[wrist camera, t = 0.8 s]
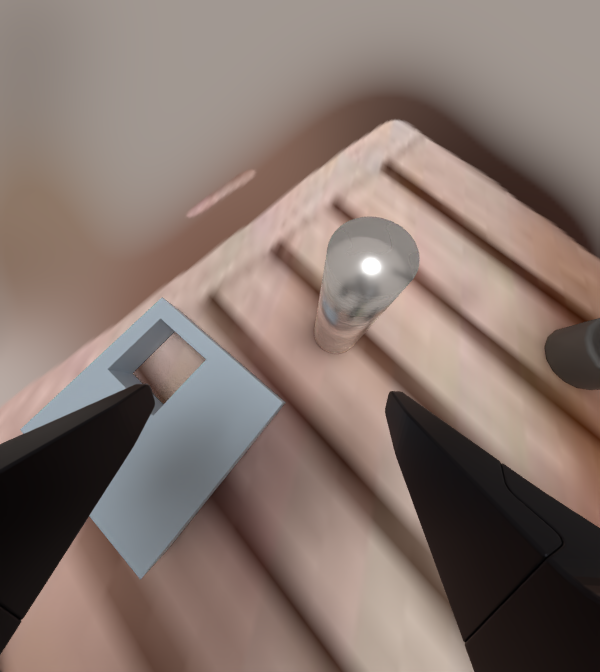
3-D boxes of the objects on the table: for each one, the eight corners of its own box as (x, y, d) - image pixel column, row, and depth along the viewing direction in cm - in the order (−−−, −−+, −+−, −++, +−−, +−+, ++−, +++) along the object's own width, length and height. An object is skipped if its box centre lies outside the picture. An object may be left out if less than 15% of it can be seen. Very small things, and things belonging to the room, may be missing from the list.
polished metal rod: (365, 329, 24) (436, 248, 11) (339, 362, 23) (386, 314, 10) (331, 304, 24) (361, 202, 12) (305, 335, 23) (308, 259, 11)
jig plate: (285, 402, 22) (283, 402, 19) (165, 551, 18) (140, 579, 16) (178, 309, 24) (162, 297, 21) (58, 425, 21) (20, 429, 18)
